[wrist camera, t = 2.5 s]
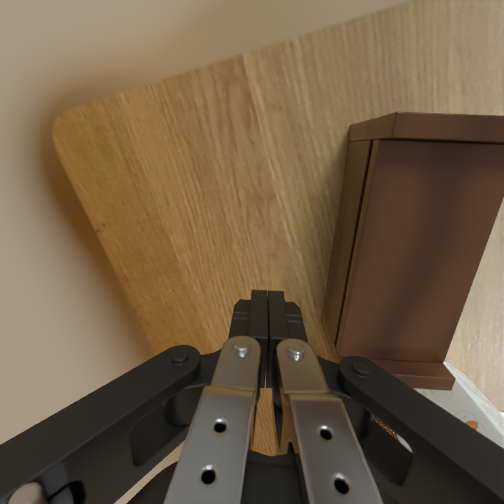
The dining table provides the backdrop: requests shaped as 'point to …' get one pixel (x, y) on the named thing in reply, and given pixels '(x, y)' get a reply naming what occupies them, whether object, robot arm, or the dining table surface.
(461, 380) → the small box
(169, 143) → the dining table surface
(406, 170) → the storage chest
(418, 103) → the dining table surface
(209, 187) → the dining table surface
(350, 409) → the robot arm
